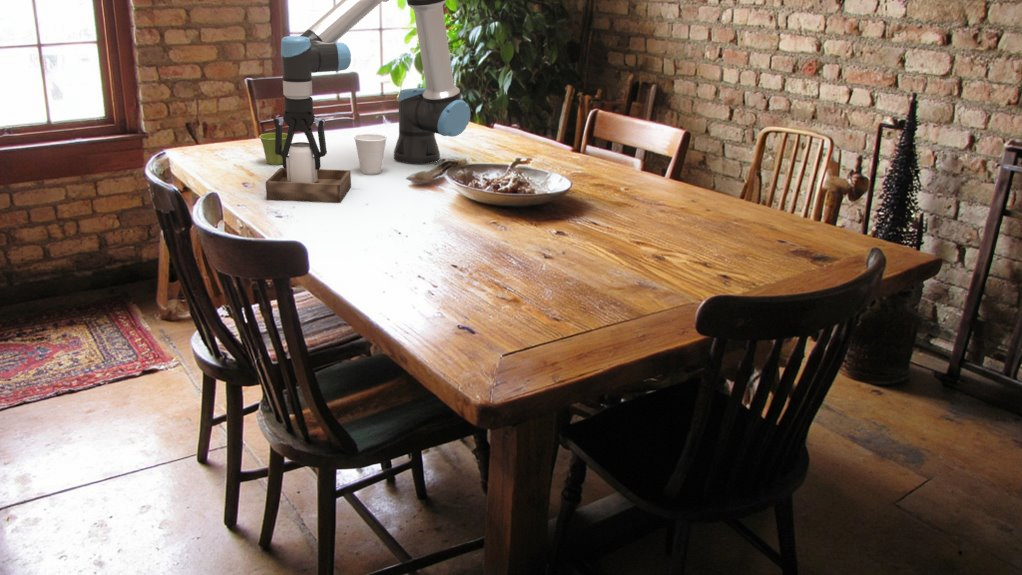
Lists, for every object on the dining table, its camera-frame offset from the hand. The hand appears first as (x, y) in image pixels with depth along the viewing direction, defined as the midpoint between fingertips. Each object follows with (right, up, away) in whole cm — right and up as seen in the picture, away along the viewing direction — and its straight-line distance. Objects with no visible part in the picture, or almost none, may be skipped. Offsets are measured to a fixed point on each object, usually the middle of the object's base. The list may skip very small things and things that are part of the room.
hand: (302, 180), depth 235 cm
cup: (+15, +5, +26) cm, 30 cm away
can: (0, -2, +1) cm, 2 cm away
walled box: (+2, -4, +1) cm, 4 cm away
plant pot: (-16, +9, +32) cm, 37 cm away
